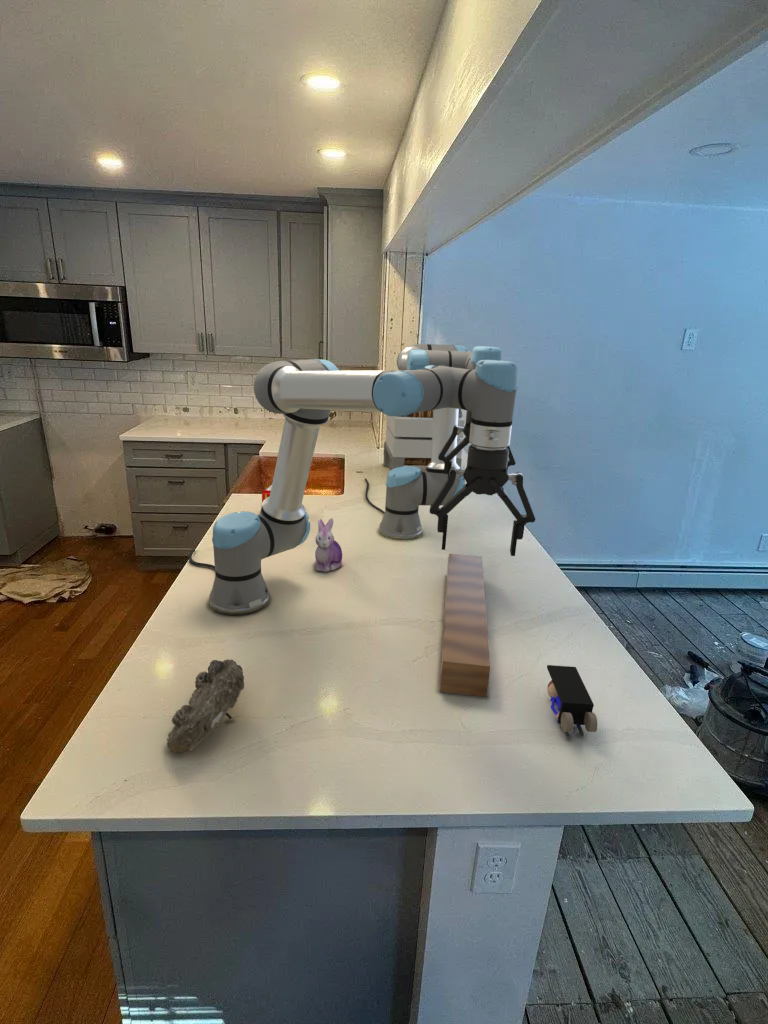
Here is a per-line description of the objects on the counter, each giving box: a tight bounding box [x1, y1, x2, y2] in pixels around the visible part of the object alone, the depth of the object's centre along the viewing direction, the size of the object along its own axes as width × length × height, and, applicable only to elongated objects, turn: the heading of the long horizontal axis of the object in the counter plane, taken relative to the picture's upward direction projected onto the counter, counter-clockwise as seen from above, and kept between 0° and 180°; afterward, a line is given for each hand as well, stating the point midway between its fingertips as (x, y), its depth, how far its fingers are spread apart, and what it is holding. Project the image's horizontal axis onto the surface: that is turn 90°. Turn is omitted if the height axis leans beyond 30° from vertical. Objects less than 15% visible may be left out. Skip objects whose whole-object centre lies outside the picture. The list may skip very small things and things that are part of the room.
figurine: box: [314, 517, 343, 572], centre depth 170 cm, size 9×10×15 cm
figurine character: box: [546, 664, 598, 737], centre depth 111 cm, size 7×8×15 cm
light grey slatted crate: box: [383, 409, 466, 471], centre depth 268 cm, size 34×33×41 cm
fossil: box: [166, 658, 245, 754], centre depth 106 cm, size 22×10×15 cm
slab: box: [439, 553, 491, 698], centre depth 142 cm, size 55×10×7 cm, turn 173°
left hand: (477, 550), depth 113 cm, fingers open, 13 cm apart
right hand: (473, 487), depth 153 cm, fingers open, 13 cm apart
